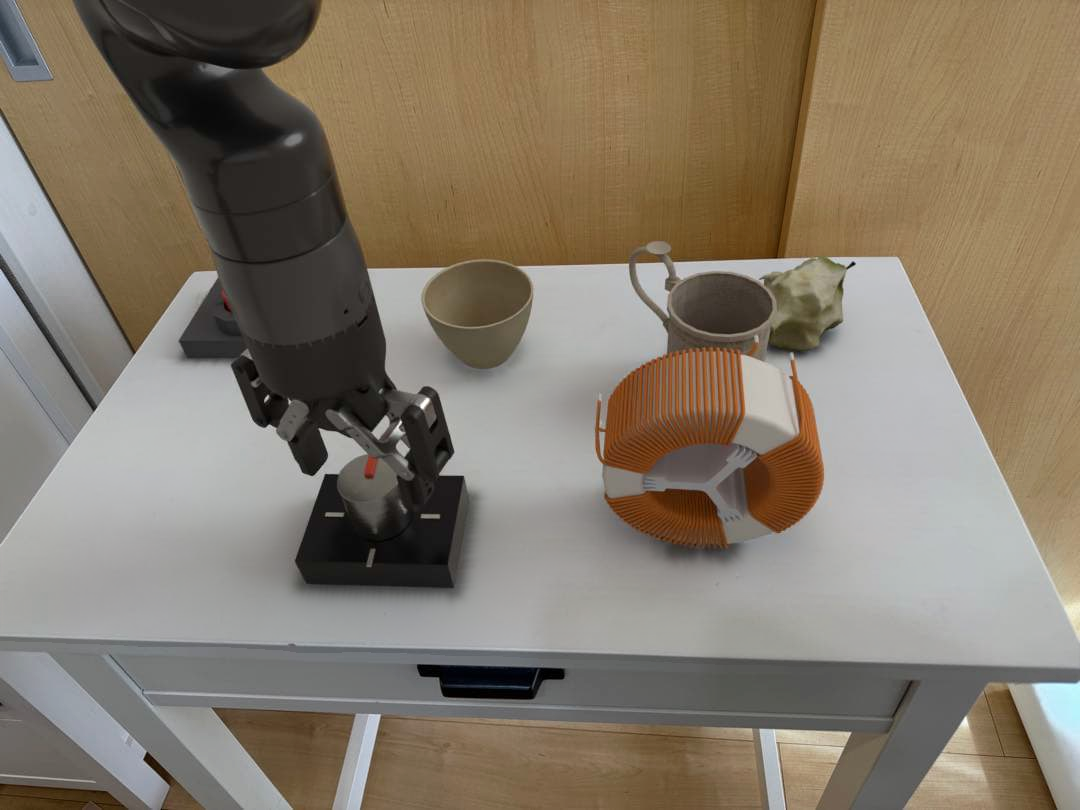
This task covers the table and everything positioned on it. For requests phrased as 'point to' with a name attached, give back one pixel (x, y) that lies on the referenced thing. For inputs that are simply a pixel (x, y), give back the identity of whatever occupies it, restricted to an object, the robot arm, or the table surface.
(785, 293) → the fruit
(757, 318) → the mug
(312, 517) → the timer panel
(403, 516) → the timer knob
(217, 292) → the button block
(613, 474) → the coil
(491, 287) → the bowl
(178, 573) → the table surface
